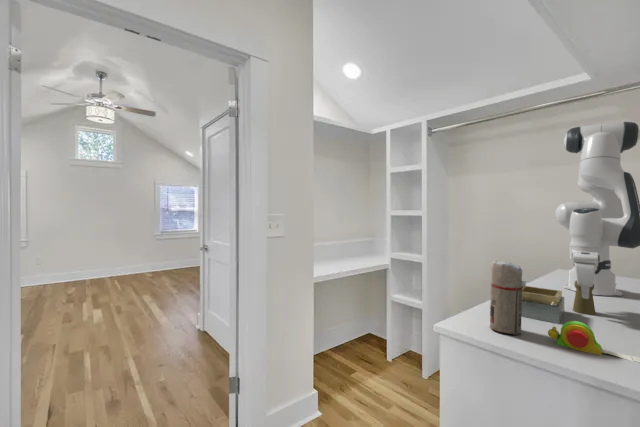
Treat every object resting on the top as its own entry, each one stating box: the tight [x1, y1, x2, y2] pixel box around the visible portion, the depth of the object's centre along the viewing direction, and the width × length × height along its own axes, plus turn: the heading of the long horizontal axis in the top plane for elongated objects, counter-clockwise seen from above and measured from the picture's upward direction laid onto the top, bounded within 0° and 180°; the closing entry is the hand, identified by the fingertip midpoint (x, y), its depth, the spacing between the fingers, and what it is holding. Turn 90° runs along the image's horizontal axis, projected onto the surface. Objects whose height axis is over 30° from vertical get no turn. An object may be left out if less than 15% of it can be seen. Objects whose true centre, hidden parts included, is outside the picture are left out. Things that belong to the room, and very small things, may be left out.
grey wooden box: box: [521, 280, 565, 325], centre depth 104 cm, size 16×12×9 cm
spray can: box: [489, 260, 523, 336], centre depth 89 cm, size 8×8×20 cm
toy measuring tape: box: [547, 320, 640, 363], centre depth 76 cm, size 6×20×7 cm, turn 51°
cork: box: [572, 280, 596, 316], centre depth 105 cm, size 6×6×11 cm
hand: (585, 295), depth 104 cm, fingers open, 8 cm apart
